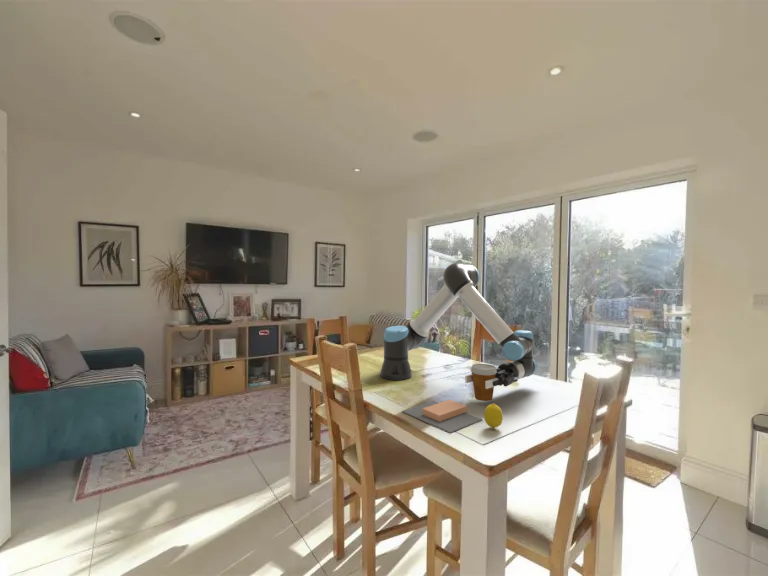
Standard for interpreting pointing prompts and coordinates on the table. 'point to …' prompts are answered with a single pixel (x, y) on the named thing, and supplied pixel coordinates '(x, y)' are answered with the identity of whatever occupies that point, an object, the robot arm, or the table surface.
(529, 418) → the table surface
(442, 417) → the tile
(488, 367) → the disposable coffee cup
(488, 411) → the lemon
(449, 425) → the mat
